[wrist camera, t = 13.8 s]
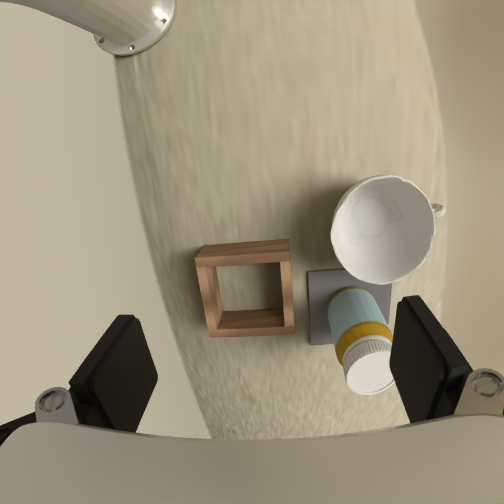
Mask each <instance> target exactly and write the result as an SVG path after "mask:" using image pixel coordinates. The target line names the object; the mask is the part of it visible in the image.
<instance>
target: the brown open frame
mask: <svg viewBox="0 0 504 504" xmlns="http://www.w3.org/2000/svg"><path fill="white" fill-rule="evenodd" d="M270 262H280V268H281V281H282V294H283V307H284V308H280V309H263V310H244V311H223V308H222V302H221V296H220V290H219V284H218V278H217V271H216V266H227V265H242V264H256V263H270ZM195 263H196V269H197V275H198V280H199V286H200V291H201V296H202V302H203V307H204V312H205V317H206V322H207V327H208V332H209V337H240V336H265V335H284V334H295V331H294V311H293V294H292V279H291V264H290V250H289V239H282V240H269V241H256V242H243V243H230V244H217V245H205V246H203V247H202V249H201V250H200V252H199V253H198V254H197V256H196V257H195Z"/></svg>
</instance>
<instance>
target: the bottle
mask: <svg viewBox="0 0 504 504" xmlns="http://www.w3.org/2000/svg"><path fill="white" fill-rule="evenodd" d="M327 311H328V319H329V324H330V328H331V332H332V337H333V342H334V346H335V351H336V355H337V358H338V361H339V363H340V364H341V365H342V366H343V369H344V374H345V379H346V383H347V385H348V387H349V388H350V389H351V390H352V391H354V392H355V393H358V394H362V395H372V394H376V393H380V392H382V391H384V390H386V389H388V388H389V387H390V386H392V385H393V384H394V383H395V381H394V378H393V376H392V373H391V371H390V367H389V359H390V353H391V347H392V341H393V336H392V333H391V331H390V329H389V327H388V325H387V323H386V321H385V319H384V317H383V315H382V313H381V311H380V309H379V307H378V305H377V303H376V301H375V299H374V298H373V296H372V295H371V294H370V293H369V292H368V291H367V290H365V289H363V288H360V287H349V288H345V289H343V290H341V291H339V292H338V293H337V294H335V295H334V296H333V298H332V299H331V301H330V302H329V305H328V309H327Z"/></svg>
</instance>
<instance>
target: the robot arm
mask: <svg viewBox="0 0 504 504" xmlns="http://www.w3.org/2000/svg"><path fill="white" fill-rule="evenodd" d="M0 2H7V3H15V4H19V5H23V6H28V7H31V8H33V9H37V10H39V11H42V12H45V13H47V14H50V15H52V16H54V17H57V18H59V19H62V20H64V21H66V22H69V23H71V24H73V25H76V26H78V27H80V28H82V29H85V30H87V31H89V32H91V33H93V34H94V38H95V41H96V42H97V44H98V45H99V47H101V48H102V49H103V50H104V51H106V52H108V53H111V54H114V55H119V56H126V55H132V54H136V53H139V52H141V51H143V50H145V49H147V48H149V47H150V46H152V45H153V44H155V43H156V42H157V41H158V40H159V39H160V38H161V37H162V36H163V35H164V34H165V33H166V31H167V30H168V28H169V27H170V25H171V23H172V21H173V19H174V15H175V9H176V3H175V0H0ZM165 22H166V23H165ZM164 23H165V24H164ZM389 367H390V371H391V373H392V376H393V378H394V381H395V383H396V386H397V388H398V391H399V394H400V396H401V399H402V402H403V404H404V407H405V410H406V412H407V415H408V418H409V420H410V424H405V425H400V426H394V427H388V428H382V429H376V430H369V431H363V432H356V433H348V434H340V435H331V436H320V437H308V438H293V439H271V440H220V439H197V438H182V437H170V436H159V435H150V434H141V433H136V430H137V428H138V425H139V423H140V420H141V418H142V416H143V414H144V411H145V409H146V407H147V404H148V402H149V399H150V397H151V395H152V392H153V390H154V388H155V385H156V383H157V380H158V374H157V371H156V368H155V365H154V362H153V360H152V357H151V354H150V351H149V348H148V345H147V342H146V339H145V336H144V333H143V330H142V326H141V323H140V321H139V319H137V318H135V316H134V315H118V316H117V317H116V319H115V320H114V321H113V322H112V324H111V325H110V326H109V328H108V329H107V330H106V332H105V333H104V334H103V336H102V337H101V338H100V340H99V341H98V342H97V344H96V345H95V346H94V348H93V349H92V351H91V352H90V353H89V355H88V356H87V357H86V359H85V360H84V361H83V363H82V364H81V366H80V367H79V368H78V370H77V371H76V373H75V374H74V375H73V377H72V378H71V380H70V381H69V384H70V386H71V387H70V389H69V390H67V389H65V388H62V387H54V388H50V389H48V390H46V391H44V392H43V393H42V394H41V395H40V396H39V397H38V398H37V400H36V402H35V412H33V413H31V414H28V415H26V416H23V417H21V418H18V419H16V420H13V421H11V422H8V423H6V424H3V425H1V426H0V504H504V377H503V375H502V374H500V373H499V372H497V371H495V370H492V369H487V368H482V369H477V370H474V371H473V369H472V368H471V366H470V365H469V363H468V362H467V360H466V359H465V357H464V356H463V354H462V353H461V352H460V350H459V349H458V347H457V346H456V344H455V343H454V341H453V340H452V338H451V337H450V336H449V334H448V333H447V331H446V330H445V329H444V328H443V327H442V326H441V324H440V323H439V322H438V320H437V319H436V318H435V316H434V315H433V313H432V312H431V311H430V309H429V308H428V307H427V305H426V304H425V303H424V301H423V300H422V299H421V297H420V296H419V295H415V296H407V297H403V299H402V301H400V302H398V304H397V311H396V319H395V327H394V334H393V341H392V347H391V353H390V359H389Z"/></svg>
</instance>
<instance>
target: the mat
mask: <svg viewBox="0 0 504 504" xmlns="http://www.w3.org/2000/svg"><path fill="white" fill-rule="evenodd" d="M308 283H309V310H310V345H322V344H333V343H334V342H333V337H332V332H331V328H330V324H329V319H328V311H327V309H328V305H329V302H330V301H331V299H332V298H333V296H334V295H335V294H337V293H338V292H339V291H341V290H343V289H345V288H349V287H360V288H363V289H365V290H367V291H368V292H369V293H370V294H371V295H372V296H373V298H374V299H375V301H376V303H377V305H378V307H379V309H380V311H381V313H382V315H383V317H384V319H385V321H386V323H387V325H388V322H389V312H390V301H391V288H392V283H390V284H384V285H379V284H373V283H367V282H364V281H361V280H359V279H357V278H356V277H354V276H352V275H351V274H350V273H349V272H348V271H347V270H346V269H345V268H340V269H327V270H314V271H308Z"/></svg>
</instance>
